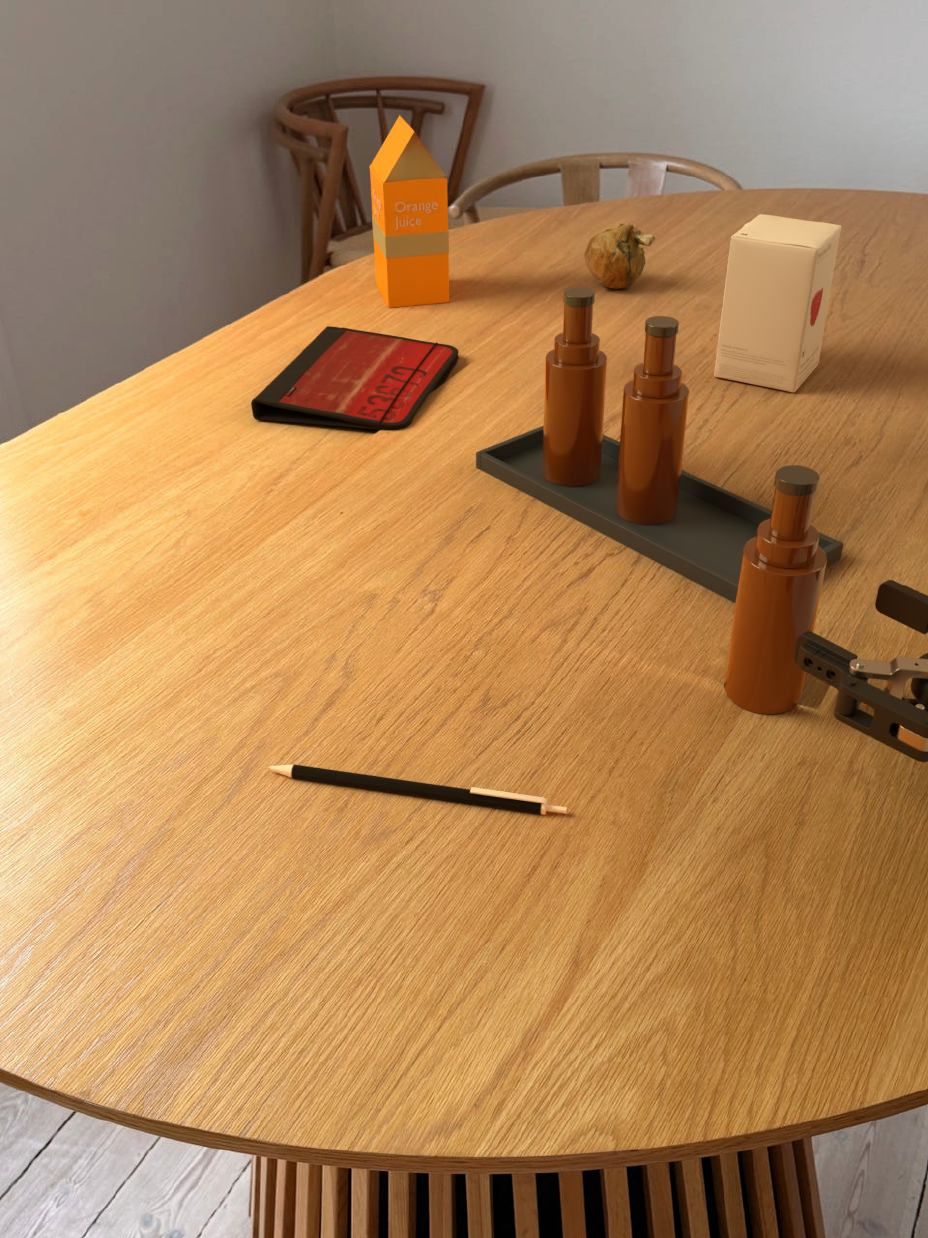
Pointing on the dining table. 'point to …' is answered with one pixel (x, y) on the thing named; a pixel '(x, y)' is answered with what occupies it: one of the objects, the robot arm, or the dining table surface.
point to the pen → (422, 789)
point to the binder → (356, 381)
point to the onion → (617, 255)
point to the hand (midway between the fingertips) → (840, 618)
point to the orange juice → (409, 221)
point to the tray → (687, 544)
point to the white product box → (776, 301)
